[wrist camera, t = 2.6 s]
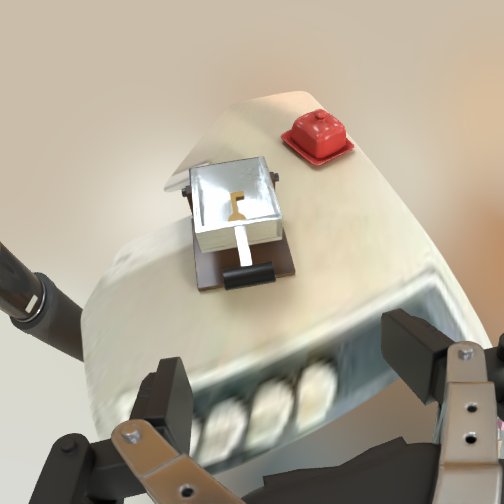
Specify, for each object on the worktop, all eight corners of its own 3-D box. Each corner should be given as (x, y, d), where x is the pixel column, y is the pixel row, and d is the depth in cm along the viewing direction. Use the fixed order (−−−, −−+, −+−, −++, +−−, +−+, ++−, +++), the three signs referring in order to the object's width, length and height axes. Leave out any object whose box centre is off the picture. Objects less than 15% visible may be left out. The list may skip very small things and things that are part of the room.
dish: (295, 291, 36) (299, 271, 31) (208, 307, 35) (200, 289, 31) (259, 161, 47) (258, 136, 43) (194, 171, 47) (188, 147, 42)
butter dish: (314, 172, 57) (319, 136, 49) (277, 140, 62) (277, 106, 55) (356, 151, 59) (363, 118, 52) (319, 123, 65) (322, 91, 58)
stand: (295, 274, 46) (300, 241, 38) (199, 291, 45) (185, 261, 38) (276, 207, 52) (276, 170, 45) (192, 222, 52) (181, 186, 44)
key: (250, 227, 40) (250, 225, 39) (229, 231, 39) (229, 229, 39) (243, 193, 43) (243, 190, 42) (223, 196, 42) (223, 193, 42)
